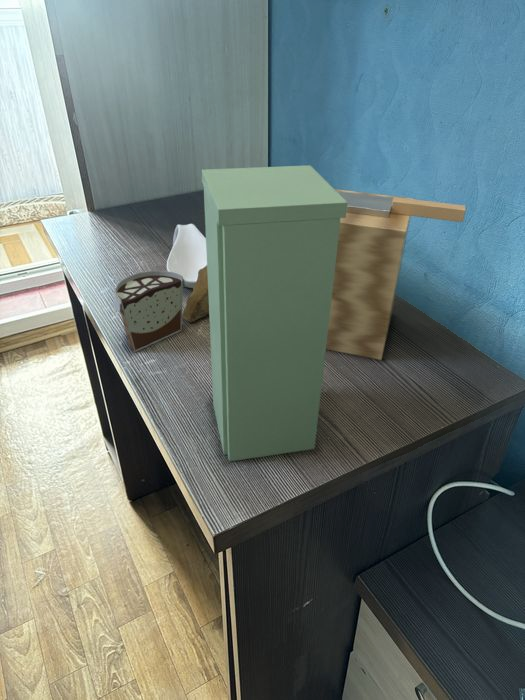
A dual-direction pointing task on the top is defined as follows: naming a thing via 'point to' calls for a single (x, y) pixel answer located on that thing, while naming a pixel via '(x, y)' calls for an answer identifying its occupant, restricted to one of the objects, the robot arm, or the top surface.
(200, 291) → the rock
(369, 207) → the knife
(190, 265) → the spoon rest
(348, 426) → the top surface
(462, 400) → the top surface
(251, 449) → the tall green cabinet
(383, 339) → the block
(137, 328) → the mint chocolate cake slice
